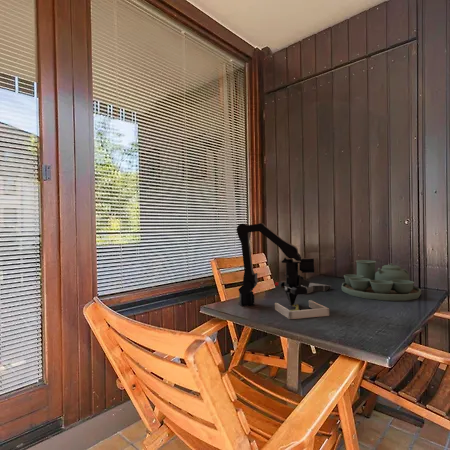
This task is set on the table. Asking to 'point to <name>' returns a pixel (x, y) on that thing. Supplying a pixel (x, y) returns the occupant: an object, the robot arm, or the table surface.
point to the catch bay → (304, 311)
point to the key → (296, 307)
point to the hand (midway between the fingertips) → (292, 305)
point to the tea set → (380, 283)
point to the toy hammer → (313, 287)
